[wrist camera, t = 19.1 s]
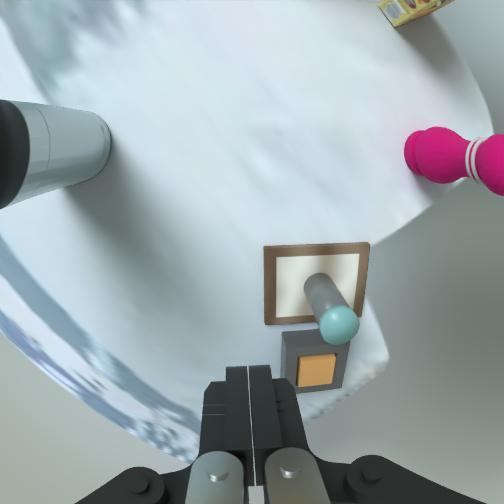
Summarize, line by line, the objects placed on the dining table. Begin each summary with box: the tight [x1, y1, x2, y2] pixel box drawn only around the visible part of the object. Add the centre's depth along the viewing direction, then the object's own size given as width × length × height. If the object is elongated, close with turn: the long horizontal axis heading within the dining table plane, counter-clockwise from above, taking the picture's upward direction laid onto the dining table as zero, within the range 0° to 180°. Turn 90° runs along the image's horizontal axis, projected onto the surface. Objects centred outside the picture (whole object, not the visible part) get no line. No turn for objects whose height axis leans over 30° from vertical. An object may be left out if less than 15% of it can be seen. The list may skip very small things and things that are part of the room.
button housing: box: [280, 329, 350, 394], centre depth 43 cm, size 9×9×4 cm
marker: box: [304, 273, 359, 345], centre depth 36 cm, size 4×4×10 cm
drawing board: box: [264, 242, 370, 325], centre depth 41 cm, size 14×11×1 cm
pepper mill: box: [404, 127, 504, 196], centre depth 27 cm, size 7×7×20 cm
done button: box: [296, 353, 336, 387], centre depth 43 cm, size 5×5×4 cm
